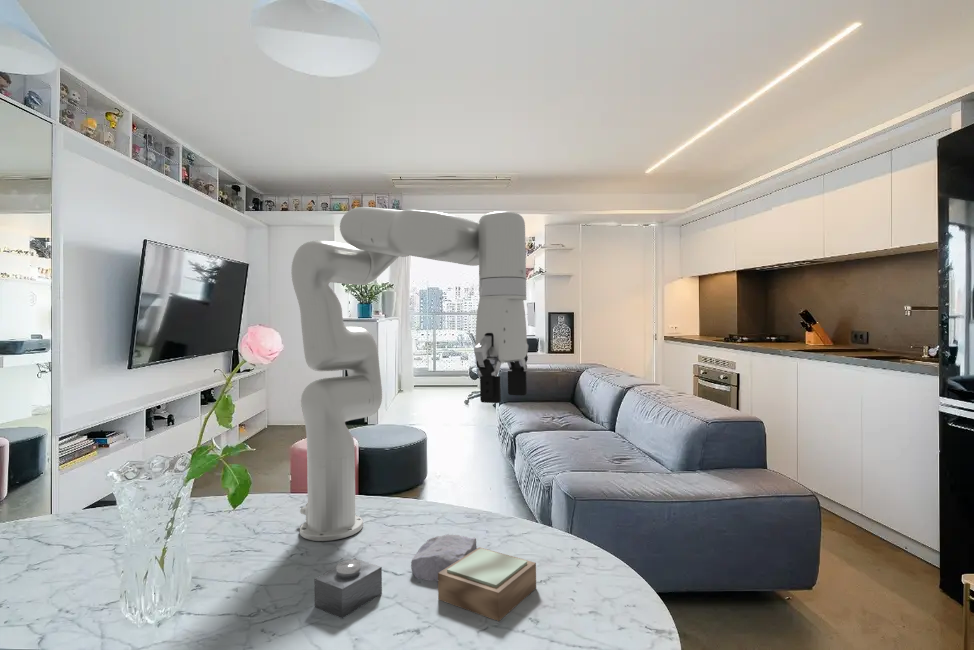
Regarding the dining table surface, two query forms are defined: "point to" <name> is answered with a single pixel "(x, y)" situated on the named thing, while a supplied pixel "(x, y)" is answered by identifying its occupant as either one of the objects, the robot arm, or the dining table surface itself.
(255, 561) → the dining table surface
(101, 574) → the dining table surface
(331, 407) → the robot arm
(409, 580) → the dining table surface
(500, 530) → the dining table surface
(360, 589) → the housing
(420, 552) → the stone block
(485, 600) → the stand
